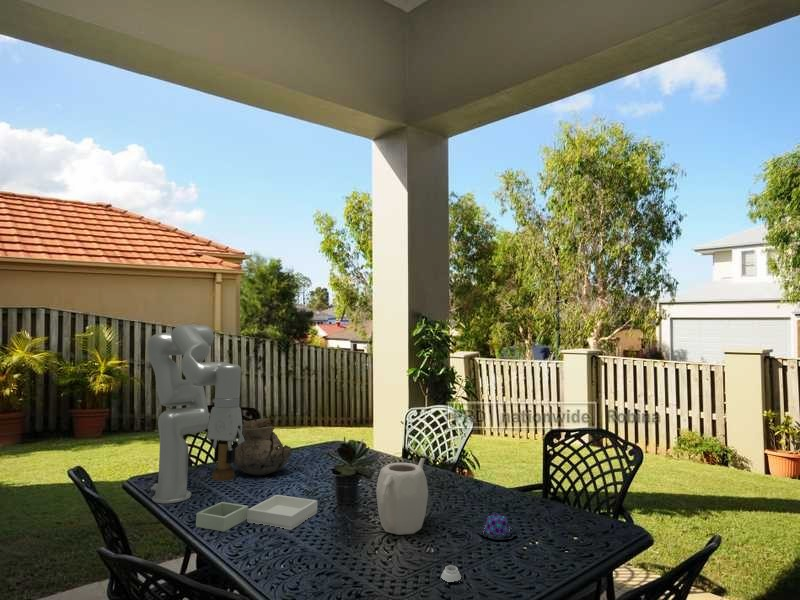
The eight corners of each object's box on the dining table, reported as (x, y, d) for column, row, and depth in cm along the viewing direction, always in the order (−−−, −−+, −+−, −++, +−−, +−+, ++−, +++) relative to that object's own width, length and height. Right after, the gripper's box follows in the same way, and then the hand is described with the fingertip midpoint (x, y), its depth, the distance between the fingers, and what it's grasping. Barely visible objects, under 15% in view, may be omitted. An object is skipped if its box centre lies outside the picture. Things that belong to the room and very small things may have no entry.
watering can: (444, 519, 163) (445, 460, 165) (404, 548, 140) (405, 479, 142) (403, 510, 171) (403, 453, 172) (358, 536, 148) (359, 471, 150)
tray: (247, 522, 158) (247, 509, 158) (276, 506, 173) (276, 494, 173) (291, 529, 152) (291, 516, 153) (317, 512, 167) (317, 500, 168)
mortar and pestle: (227, 481, 155) (229, 422, 156) (208, 480, 156) (210, 421, 157) (238, 475, 161) (240, 419, 162) (219, 474, 163) (222, 418, 164)
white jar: (459, 587, 120) (462, 577, 125) (460, 574, 120) (462, 565, 125) (439, 584, 121) (442, 574, 126) (439, 571, 121) (442, 562, 126)
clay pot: (221, 471, 215) (223, 420, 217) (271, 462, 231) (272, 415, 233) (247, 485, 197) (249, 429, 198) (300, 474, 213) (301, 423, 214)
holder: (195, 526, 154) (196, 513, 154) (221, 514, 165) (221, 501, 165) (223, 531, 150) (224, 517, 150) (247, 518, 161) (248, 505, 161)
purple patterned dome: (481, 543, 146) (481, 524, 146) (473, 527, 158) (473, 510, 158) (521, 543, 146) (521, 524, 147) (511, 527, 158) (511, 510, 158)
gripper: (197, 402, 159) (194, 461, 158) (241, 406, 154) (238, 467, 153) (213, 399, 166) (211, 455, 165) (256, 403, 161) (253, 461, 160)
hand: (224, 460), depth 159 cm, fingers closed on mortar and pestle, 4 cm apart
